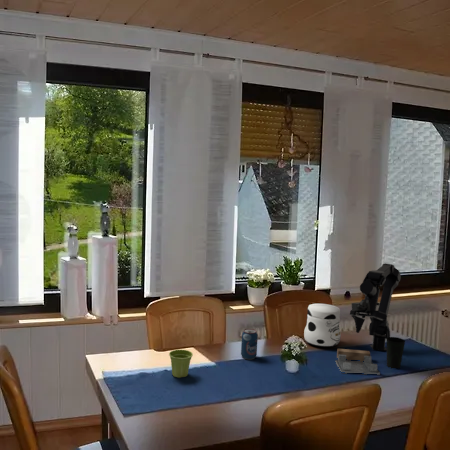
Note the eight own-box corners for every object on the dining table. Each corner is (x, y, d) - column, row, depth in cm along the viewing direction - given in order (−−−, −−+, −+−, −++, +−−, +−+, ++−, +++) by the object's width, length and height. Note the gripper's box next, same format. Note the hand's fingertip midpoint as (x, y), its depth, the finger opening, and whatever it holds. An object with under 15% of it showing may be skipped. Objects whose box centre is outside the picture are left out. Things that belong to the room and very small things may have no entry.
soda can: (248, 361, 220) (249, 334, 218) (237, 356, 225) (238, 330, 224) (259, 357, 224) (261, 331, 223) (248, 353, 230) (250, 327, 228)
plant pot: (195, 372, 205) (196, 351, 204) (186, 381, 196) (187, 359, 195) (174, 368, 208) (175, 348, 207) (164, 377, 199) (164, 355, 198)
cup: (403, 370, 218) (406, 343, 216) (385, 368, 219) (387, 341, 218) (401, 364, 225) (403, 337, 224) (383, 362, 227) (385, 336, 225)
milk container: (343, 351, 239) (346, 313, 237) (306, 349, 239) (308, 311, 237) (335, 338, 256) (338, 303, 254) (301, 337, 256) (303, 302, 254)
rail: (337, 359, 227) (338, 351, 227) (336, 357, 231) (337, 348, 230) (369, 362, 226) (370, 353, 226) (368, 359, 230) (369, 351, 229)
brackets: (335, 362, 224) (336, 353, 223) (371, 364, 223) (372, 355, 223) (341, 373, 212) (342, 363, 211) (379, 375, 212) (380, 365, 211)
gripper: (344, 293, 233) (336, 327, 229) (370, 294, 216) (363, 330, 212) (363, 300, 236) (356, 333, 233) (391, 301, 219) (384, 337, 216)
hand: (364, 333), depth 223 cm, fingers open, 9 cm apart
